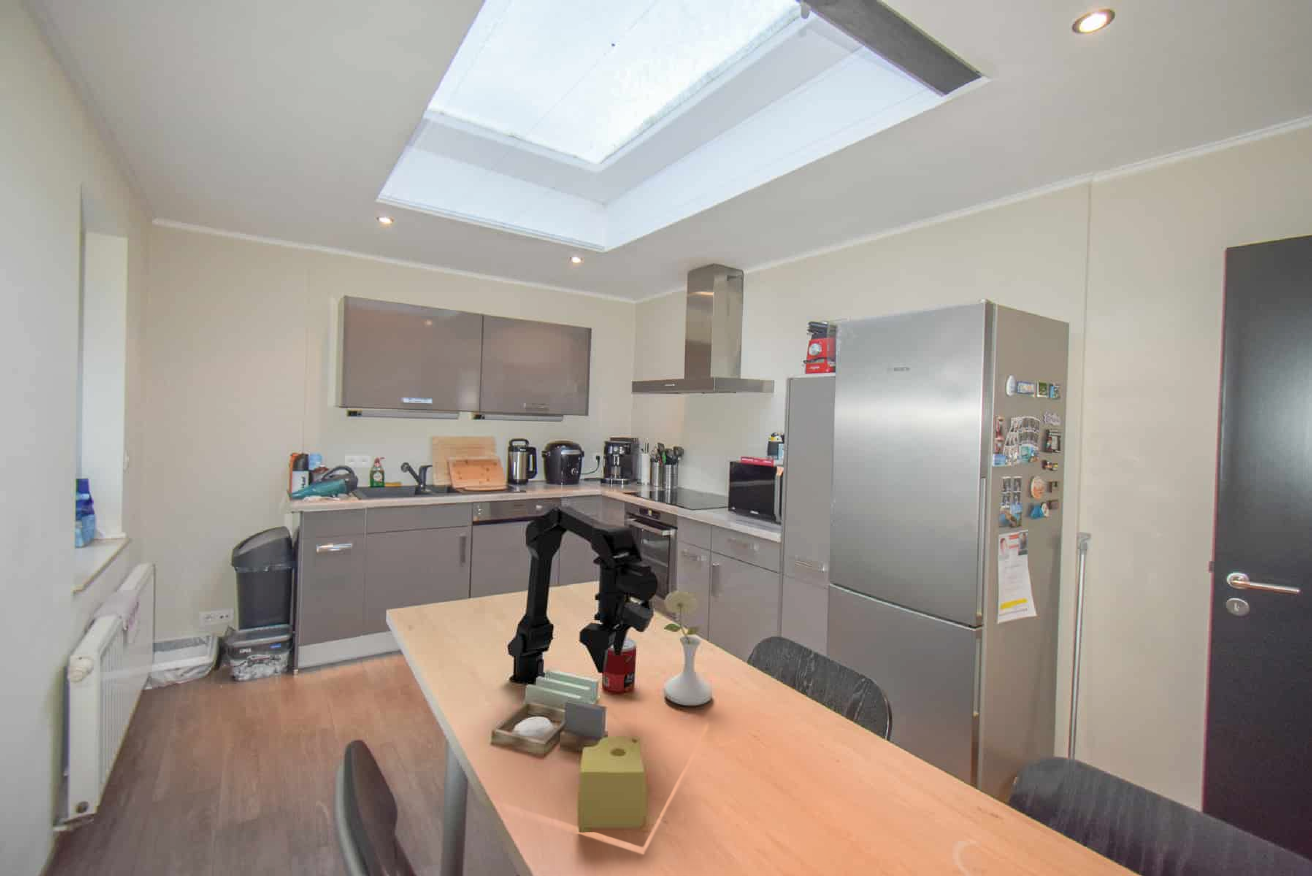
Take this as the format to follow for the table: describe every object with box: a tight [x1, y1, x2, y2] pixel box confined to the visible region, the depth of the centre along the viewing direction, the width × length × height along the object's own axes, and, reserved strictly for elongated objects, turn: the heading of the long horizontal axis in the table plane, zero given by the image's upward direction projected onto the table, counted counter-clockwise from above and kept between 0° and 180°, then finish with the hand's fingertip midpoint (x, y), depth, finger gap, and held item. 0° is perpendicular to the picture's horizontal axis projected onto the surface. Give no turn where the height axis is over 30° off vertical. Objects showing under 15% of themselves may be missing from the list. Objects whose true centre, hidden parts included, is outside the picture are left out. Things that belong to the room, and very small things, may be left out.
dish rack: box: [520, 668, 602, 710], centre depth 127 cm, size 14×11×5 cm
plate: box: [564, 698, 607, 740], centre depth 111 cm, size 8×2×8 cm, turn 70°
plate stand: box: [558, 730, 609, 756], centre depth 111 cm, size 8×6×3 cm
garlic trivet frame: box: [490, 701, 565, 757], centre depth 114 cm, size 12×13×3 cm
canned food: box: [601, 636, 637, 695], centre depth 136 cm, size 8×8×11 cm
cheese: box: [576, 736, 647, 833], centre depth 93 cm, size 10×11×10 cm
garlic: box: [511, 716, 555, 741], centre depth 113 cm, size 8×7×4 cm
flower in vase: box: [662, 590, 713, 707], centre depth 133 cm, size 13×11×25 cm
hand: (609, 663), depth 118 cm, fingers open, 9 cm apart
